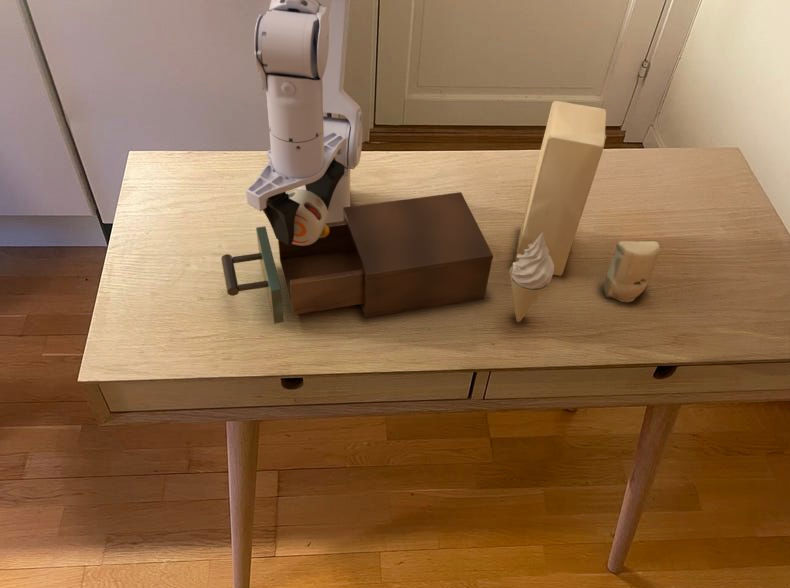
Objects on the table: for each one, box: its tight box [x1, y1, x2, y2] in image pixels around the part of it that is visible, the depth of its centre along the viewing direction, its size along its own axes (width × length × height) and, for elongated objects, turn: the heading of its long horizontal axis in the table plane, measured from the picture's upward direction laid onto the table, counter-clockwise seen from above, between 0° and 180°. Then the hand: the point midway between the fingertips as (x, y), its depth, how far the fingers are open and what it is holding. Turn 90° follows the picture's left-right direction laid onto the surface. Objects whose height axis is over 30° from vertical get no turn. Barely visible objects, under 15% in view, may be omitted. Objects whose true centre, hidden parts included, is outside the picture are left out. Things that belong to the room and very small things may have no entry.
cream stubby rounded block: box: [602, 240, 662, 303], centre depth 98 cm, size 6×5×8 cm
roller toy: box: [286, 189, 329, 246], centre depth 89 cm, size 4×6×6 cm
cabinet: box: [343, 191, 494, 318], centre depth 98 cm, size 16×13×8 cm
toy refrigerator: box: [514, 100, 607, 277], centre depth 97 cm, size 8×7×21 cm
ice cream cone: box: [509, 232, 554, 323], centre depth 91 cm, size 5×5×15 cm
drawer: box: [220, 221, 365, 324], centre depth 95 cm, size 20×11×6 cm, turn 106°
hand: (301, 227), depth 90 cm, fingers closed on roller toy, 5 cm apart
